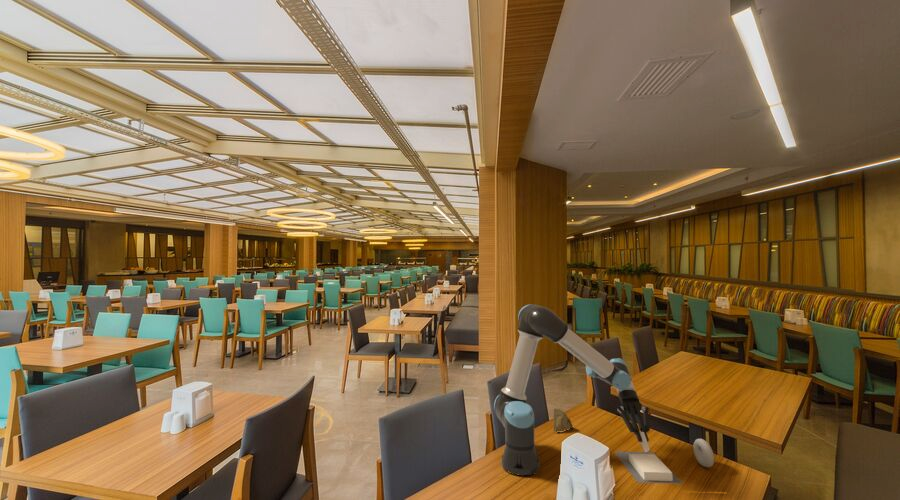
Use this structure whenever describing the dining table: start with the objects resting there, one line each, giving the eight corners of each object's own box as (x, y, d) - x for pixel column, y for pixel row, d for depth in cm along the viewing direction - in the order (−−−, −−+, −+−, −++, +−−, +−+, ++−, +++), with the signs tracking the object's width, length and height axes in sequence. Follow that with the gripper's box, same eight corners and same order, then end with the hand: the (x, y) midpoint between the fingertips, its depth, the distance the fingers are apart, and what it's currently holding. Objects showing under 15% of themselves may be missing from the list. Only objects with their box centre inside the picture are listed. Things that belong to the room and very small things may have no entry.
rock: (571, 420, 179) (551, 416, 181) (575, 410, 174) (554, 407, 176) (573, 441, 170) (552, 437, 172) (577, 432, 166) (555, 427, 167)
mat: (614, 453, 151) (614, 451, 151) (652, 453, 150) (652, 452, 150) (637, 484, 129) (637, 482, 129) (683, 485, 128) (683, 483, 128)
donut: (716, 473, 136) (715, 446, 136) (707, 472, 136) (705, 445, 136) (700, 459, 146) (699, 434, 146) (692, 458, 146) (690, 433, 146)
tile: (628, 453, 144) (644, 472, 131) (654, 454, 143) (672, 472, 130) (629, 461, 143) (644, 480, 130) (654, 462, 143) (672, 481, 130)
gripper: (639, 396, 159) (660, 454, 142) (609, 396, 160) (627, 453, 143) (644, 388, 154) (667, 447, 137) (613, 388, 155) (632, 446, 138)
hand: (646, 450), depth 140 cm, fingers closed
